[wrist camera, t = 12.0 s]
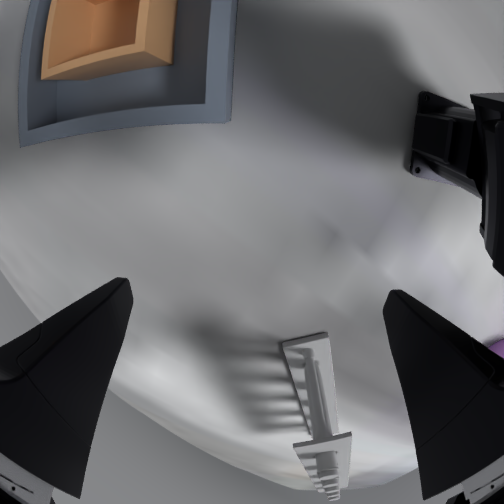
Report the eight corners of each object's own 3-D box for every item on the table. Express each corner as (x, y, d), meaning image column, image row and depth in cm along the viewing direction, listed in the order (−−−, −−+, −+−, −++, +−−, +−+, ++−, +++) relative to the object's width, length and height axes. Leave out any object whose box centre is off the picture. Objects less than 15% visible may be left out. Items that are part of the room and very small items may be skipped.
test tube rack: (281, 341, 26) (293, 474, 14) (327, 331, 25) (358, 461, 13) (311, 434, 37) (319, 504, 26) (338, 428, 37) (350, 498, 25)
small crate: (180, -18, 10) (158, -50, 6) (173, 65, 14) (144, 51, 9) (93, 3, 10) (54, -14, 6) (86, 80, 14) (41, 79, 9)
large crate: (242, -53, 9) (240, -81, 6) (231, 120, 16) (224, 123, 13) (66, -15, 9) (38, -26, 6) (53, 137, 16) (20, 147, 12)
